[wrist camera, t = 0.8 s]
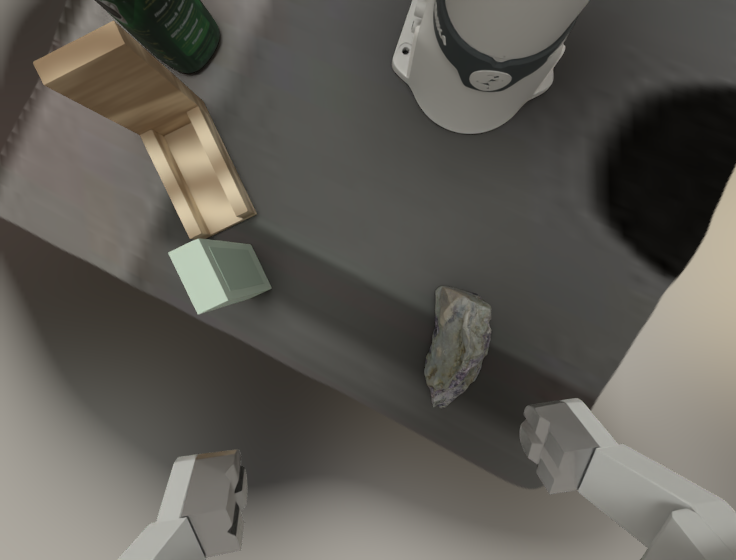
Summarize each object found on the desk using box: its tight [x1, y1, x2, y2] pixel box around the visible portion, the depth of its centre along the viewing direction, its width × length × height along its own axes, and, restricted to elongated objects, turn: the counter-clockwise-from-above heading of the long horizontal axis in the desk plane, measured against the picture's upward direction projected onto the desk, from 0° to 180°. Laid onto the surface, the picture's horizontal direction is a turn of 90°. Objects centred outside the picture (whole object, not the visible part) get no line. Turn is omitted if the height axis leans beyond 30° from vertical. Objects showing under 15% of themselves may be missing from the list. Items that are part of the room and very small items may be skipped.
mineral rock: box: [424, 286, 492, 409], centre depth 43 cm, size 13×11×10 cm
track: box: [33, 21, 257, 239], centre depth 39 cm, size 15×8×16 cm, turn 25°
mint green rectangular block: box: [168, 238, 272, 314], centre depth 41 cm, size 6×3×14 cm, turn 25°
